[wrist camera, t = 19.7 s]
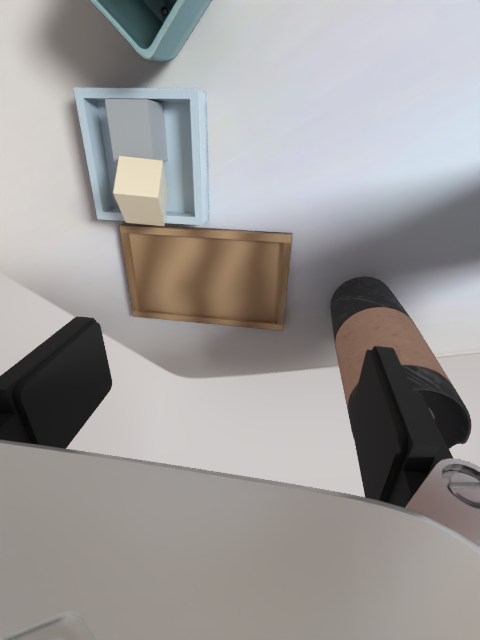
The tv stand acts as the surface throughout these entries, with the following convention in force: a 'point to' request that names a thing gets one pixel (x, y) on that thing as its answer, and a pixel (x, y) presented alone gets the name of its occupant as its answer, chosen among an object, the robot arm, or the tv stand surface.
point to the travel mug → (412, 350)
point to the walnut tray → (207, 274)
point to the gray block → (137, 128)
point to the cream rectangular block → (141, 190)
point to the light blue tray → (182, 147)
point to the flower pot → (154, 24)
